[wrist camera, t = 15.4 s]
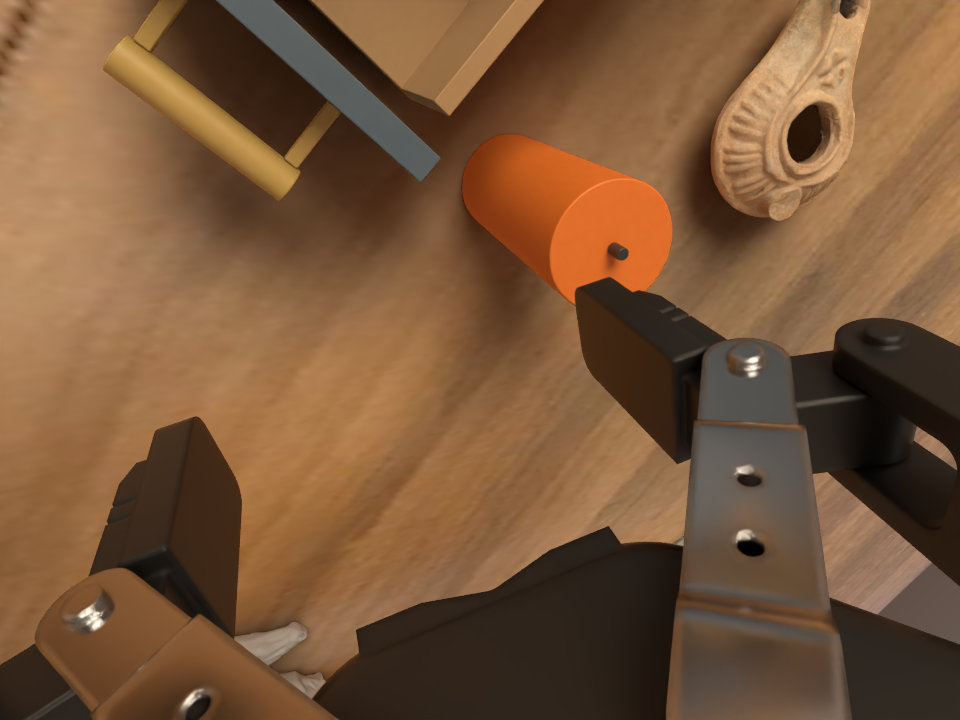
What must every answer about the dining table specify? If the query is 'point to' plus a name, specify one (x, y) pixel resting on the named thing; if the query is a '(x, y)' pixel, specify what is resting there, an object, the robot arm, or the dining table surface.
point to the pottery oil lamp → (792, 113)
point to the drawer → (333, 73)
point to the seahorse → (282, 653)
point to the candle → (567, 214)
